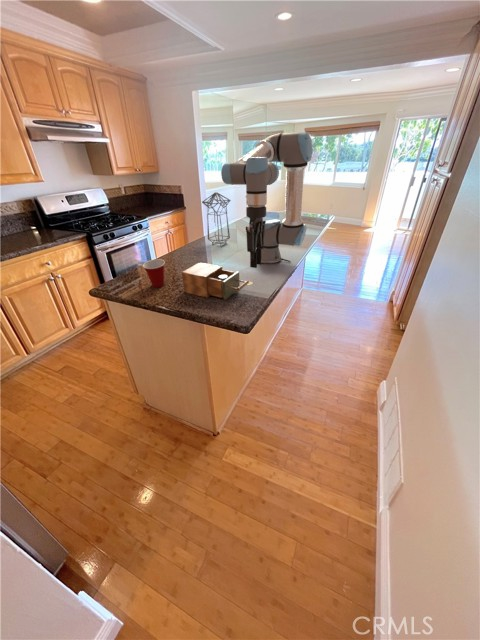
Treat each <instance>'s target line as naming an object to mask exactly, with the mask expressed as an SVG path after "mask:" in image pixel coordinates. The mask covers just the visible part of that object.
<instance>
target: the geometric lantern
mask: <svg viewBox="0 0 480 640" xmlns="http://www.w3.org/2000/svg"><path fill="white" fill-rule="evenodd" d="M214 201H215V202H214ZM230 202H232V200H231V199H229V198H228V197H226V196H224V195H222V194H221V193H219V192H218V191H217V192H216V191H215V192H214V193H212V194H211V195H210V196H208V197H206V198H205V199H204V200H202V201H201V203H202V204H203V205H204V206H205V207H206V208H207V214H206V218H207V221H209V216H214V217H213V218H214V219H213V221H214V222H217V225H219V224H220V229H219V226H217V235H216V233H214V235H212V236H211V237H210V228H209V227H210V225H209V223H207V240H208V241H210V242H211V244H212V246H216V247H219V246H222V247H224V246H226V245H227V244H228V243H227V241H229V240H230V238H231V235H230V228H229V227H230V226H229V218H228V209H227V206H228V205H229V204H230ZM217 205H219V206H218V209H217V210H215V207H216V206H217ZM221 207H222V208H221ZM220 208H221V210H220ZM210 209H212V210H213V211H211V212H209V211H210ZM223 209H224V211H223ZM219 210H220V211H219ZM222 212H223V213H222ZM223 215H226V216H225V217H226V226H227V235H223V228H222V219H221V216H223ZM220 233H221V235H220ZM214 237H215V239H212V238H214ZM220 237H221V239H220ZM224 237H225V238H224ZM218 239H220V240H218ZM217 244H218V245H217ZM219 244H220V245H219Z"/></svg>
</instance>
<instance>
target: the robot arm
mask: <svg viewBox="0 0 480 640" xmlns="http://www.w3.org/2000/svg"><path fill="white" fill-rule="evenodd" d="M312 157H313V140H312V137H311V134H310V133H309V132H305V131H295V132H283V133H282V132H280V133H275V134H272V135H269V136H267V137H265V138H264V139H261V140H260V141H259V142H258V143H257V144H256V146H255V147H254V148H253V149H252V150H251V151H249V152H248V153H246V154H245V155H244V156H242V157H241V158H239V159H238V160H237V161H235V162H227V163H226V162H225V163H223V165H222V166H221V170H220V171H221V172H220V176H221V180H222V182H223V183H224V184H225V185H231V186H233V185H235V186H236V185H237V186H238V185H239V186H242V185H243V186H244V185H245V189H246V190H245V193H246V194H245V199H246V200H245V201H246V205H247V206H246V207H245V208H246V209H245V212H246V213H245V214H246V217H247V218H248V219H249V223H248V226H245V232H246V233H245V234H246V251H247V253H250V254H249V267H250V268H252V269H253V268H254V269H257V268H258V265H259V266H261V265H262V264H270V265H271V264H276V263H279V262H281V261H284V262H288V263H291V260H288V259H286V258H285V259H284V258H282V255H281V251H280V245H284V246H292V247H294V246H295V247H299V246H301V245H302V244H303V243H304V240H305V237H306V233H307V225H306V224H304V219H302V208H303V191H304V175H305V169H306V168H307V166H308V163H309V162H311V161H312ZM276 163H283V164H282V166H283V169H285V170H286V172H285V206H284V207H285V208H284V209H285V212H284V219H283V220H282V222H281V220H280V219H269V220H264V219H263V218H265V217H266V216H267V203H268V186H271V185H273V184H274V183H276V182H277V180H278V179H279V176H280V169H279V167H278V166H277V164H276Z"/></svg>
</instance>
